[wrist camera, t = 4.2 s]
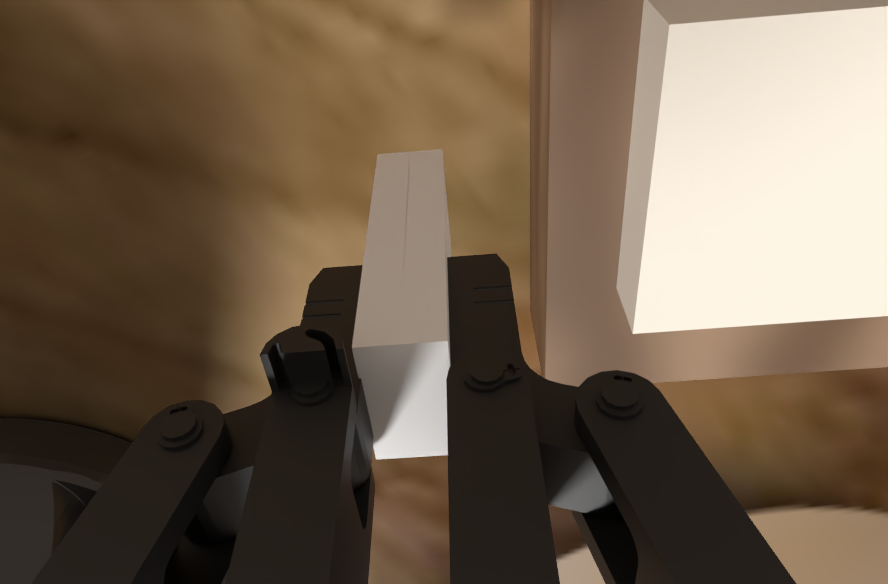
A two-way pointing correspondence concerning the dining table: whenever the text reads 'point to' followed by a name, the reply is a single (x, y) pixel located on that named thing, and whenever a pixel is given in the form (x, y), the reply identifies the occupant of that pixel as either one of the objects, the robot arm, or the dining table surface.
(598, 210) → the riser board
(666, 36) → the ceramic tile
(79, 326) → the dining table surface
